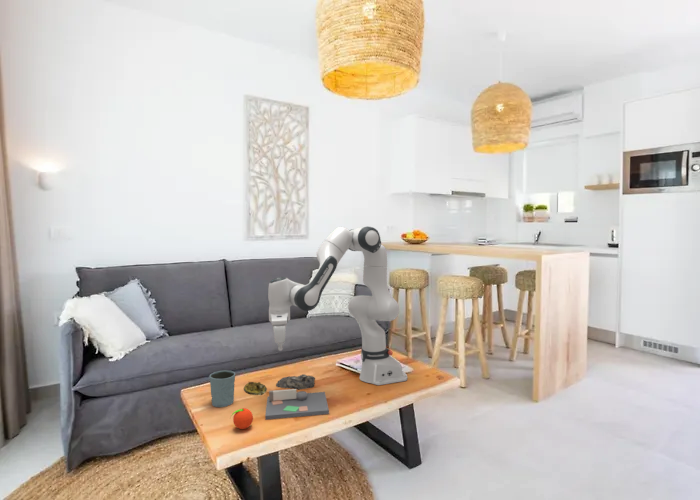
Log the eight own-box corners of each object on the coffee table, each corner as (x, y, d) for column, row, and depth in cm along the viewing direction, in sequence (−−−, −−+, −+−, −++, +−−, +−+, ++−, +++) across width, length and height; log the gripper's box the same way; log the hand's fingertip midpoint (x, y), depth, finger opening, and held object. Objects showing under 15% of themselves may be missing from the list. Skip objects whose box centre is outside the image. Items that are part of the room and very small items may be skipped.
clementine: (231, 435, 142) (231, 415, 142) (229, 426, 148) (228, 407, 148) (255, 430, 145) (254, 410, 145) (251, 421, 152) (250, 403, 151)
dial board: (324, 395, 174) (324, 391, 174) (329, 413, 157) (328, 409, 157) (267, 399, 171) (267, 396, 171) (265, 419, 153) (265, 415, 153)
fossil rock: (322, 386, 185) (311, 376, 199) (322, 378, 185) (311, 368, 198) (282, 395, 177) (273, 383, 190) (281, 386, 177) (272, 375, 190)
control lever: (306, 395, 170) (306, 386, 170) (307, 399, 166) (306, 390, 166) (269, 398, 168) (269, 389, 168) (269, 403, 164) (268, 393, 164)
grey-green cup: (209, 400, 172) (208, 372, 171) (234, 396, 176) (233, 368, 175) (211, 410, 162) (210, 380, 162) (237, 405, 166) (236, 376, 166)
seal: (239, 389, 186) (253, 400, 174) (237, 380, 185) (251, 389, 173) (257, 382, 191) (272, 392, 180) (256, 373, 191) (271, 381, 179)
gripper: (272, 311, 181) (273, 342, 181) (271, 322, 160) (272, 356, 161) (287, 310, 182) (288, 341, 182) (287, 321, 161) (288, 355, 162)
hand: (280, 348), depth 172 cm, fingers open, 3 cm apart
